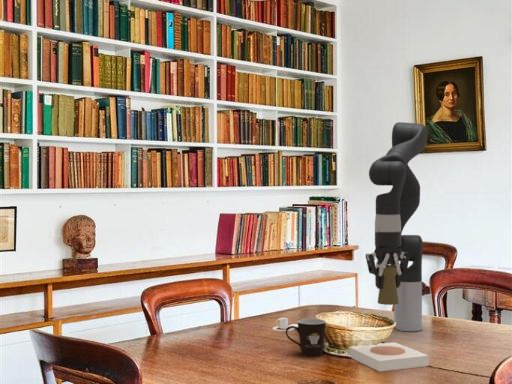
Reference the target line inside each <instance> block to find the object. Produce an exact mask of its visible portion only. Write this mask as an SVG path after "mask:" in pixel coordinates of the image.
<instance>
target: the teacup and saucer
mask: <svg viewBox="0 0 512 384" xmlns="http://www.w3.org/2000/svg"><path fill="white" fill-rule="evenodd" d="M278 322H279V324H278ZM275 323H276V325H277V326H274V327H272V330H273V331H276V332H277V331H279V332H286V329H287V328H288V327H290V326H295V327H298V323H294V324H293V323H292V324H290V325H288V324H289V318H288V317H279V318H278V319H276V320H275ZM279 328H280V329H279ZM294 330H296V329H295V328H290V329H289V330H288V331H287V332H290V331H294Z"/></svg>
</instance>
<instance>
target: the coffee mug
mask: <svg viewBox="0 0 512 384" xmlns="http://www.w3.org/2000/svg"><path fill="white" fill-rule="evenodd" d="M323 322H324V323H323ZM326 324H327V321H326V320H324V319H321V318H304V319H303V318H301V319H300V320H297V325H298V327H295V326H290V327H287V329H285V330H286V331H285V335H286V337H287V338H288V339H289V341H291V342H293V343H294V344H296V345H298V346H299V347H300V352H301V353H300V354H301V355H302V356H304V357H310V358H314V357H315V358H316V357H321V356H322V355H323V351H324V344H325V343H324V341H325V333H326ZM290 328H295V329H294V330H295V331H296V332H297V333H298V336H299V338H298V339H299V342H298V341H296V340H295V339H293V338H291V337H290V336H289V335H288V332H289V331H288V330H291V329H290Z"/></svg>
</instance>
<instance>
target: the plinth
mask: <svg viewBox="0 0 512 384" xmlns="http://www.w3.org/2000/svg"><path fill="white" fill-rule="evenodd" d="M376 344H377V345H372V344H367V345H368V346H362V345H353V346H348V356H349V355H350V356H351V359H352V360H355V361H357V362H359V363H360V364H362V365H365V366H366V367H369V368H371V369H373V370H375V371H377V372H381V373H382V372H388V371H397V370H405V369H414V368H415V369H416V368H424V367H430V366H429V363H430V361H429V354H426V353H424V352H420V351H417V350H416V349H413V348H410V347H407V346H405V345H403V344H400V343H398V342H394V341H393V342H392V341H391V342H384V343H376Z"/></svg>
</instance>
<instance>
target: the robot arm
mask: <svg viewBox="0 0 512 384" xmlns="http://www.w3.org/2000/svg"><path fill="white" fill-rule="evenodd" d="M427 143H428V128H427V126H426V125H425V124H422V123H413V122H400V121H397V122H396V123H395V124H393V126H392V130H391V148H389V150H387V153H386V154H385V155H383V156H381V157H380V158H378V159H376V160H375V161H374V162H372V163H371V165H370V167H369V170H368V178H369V180H370V182H371V183H373V185H375V186H392V187H391V190H389V192H386V193H380V194H378V195H376V197H375V219H374V245H375V246H374V247H375V248H374V252H371V253H365V260H366V265H367V269H368V273H369V274H370V275H374V277H375V280H374V281H375V287H376V288H377V289H378V290H379V289H383V276H382V274H383V270H384V269H385V267H386V265H392V266H395V267H396V268H397V275H396V276H395V279H396V287H397V294H398V302H399V303H398V304H395V305H393V307H394V309H393V311H394V313H393V320H394V321H395V322H396V326H395V327H394V328H395V330H397V331H402V332H420V331H422V330H423V277H422V276H423V273H422V272H423V271H422V270H423V269H422V268H423V267H422V266H423V246H424V245H423V238H422V237H421V235H419V234H403V230H404V227H405V226H406V224H407V223H408V221H409V220H410V219H411V218H412V216H414V214H415V212H417V209H418V208H419V206H420V203H421V185H420V182H419V179H418V178H417V176H416V175H415V174H414V171H412V169H411V168H410V166H409V163H410V161H412V159H414V158H415V157H417V156H418V155H419V154H421V152H423V151H424V149H425V148H426V145H427ZM376 259H377V261H376V262H375V260H376ZM409 262H412V264H410V266H409ZM394 321H393V322H394Z"/></svg>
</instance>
